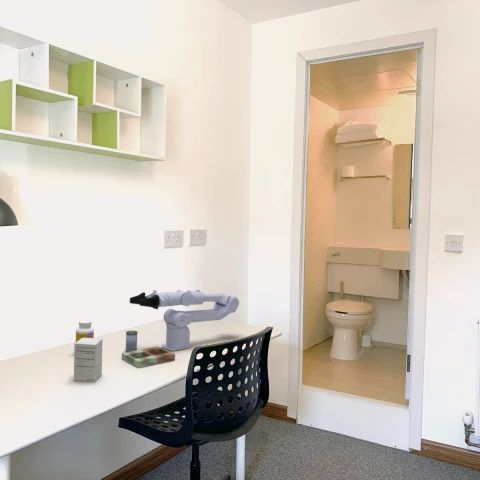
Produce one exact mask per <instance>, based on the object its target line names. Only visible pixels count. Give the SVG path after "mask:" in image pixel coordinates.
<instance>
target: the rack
mask: <svg viewBox="0 0 480 480" xmlns="http://www.w3.org/2000/svg"><path fill="white" fill-rule="evenodd" d="M175 360H176V353H174V352H173V351H170V350H168V349H167V350H166V348H164V347H160V346H154V347H148V348H147V347H146V348H143V349H137V350H136V351H131V352H126V351H125V352H121V361H123V362H125V363H127V364H130V365H131V366H133V367H135V368H137V369H140V368H145V367H149V366H155V365H158V364H159V365H160V364H164V363H168V362H169V363H170V362H173V361H174V362H175Z"/></svg>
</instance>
